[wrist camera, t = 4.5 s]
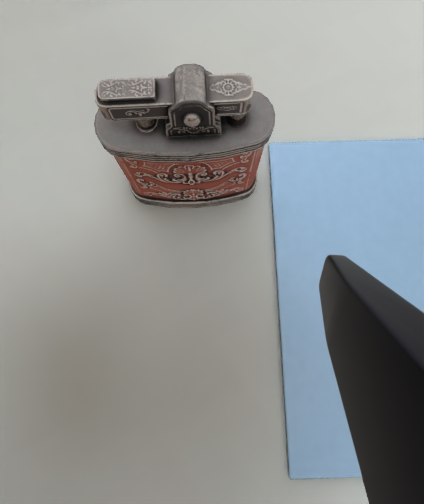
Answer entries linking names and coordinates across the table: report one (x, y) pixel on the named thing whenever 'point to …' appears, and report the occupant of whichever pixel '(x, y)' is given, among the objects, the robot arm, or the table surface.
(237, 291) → the table surface
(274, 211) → the blue square mat
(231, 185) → the lighter
